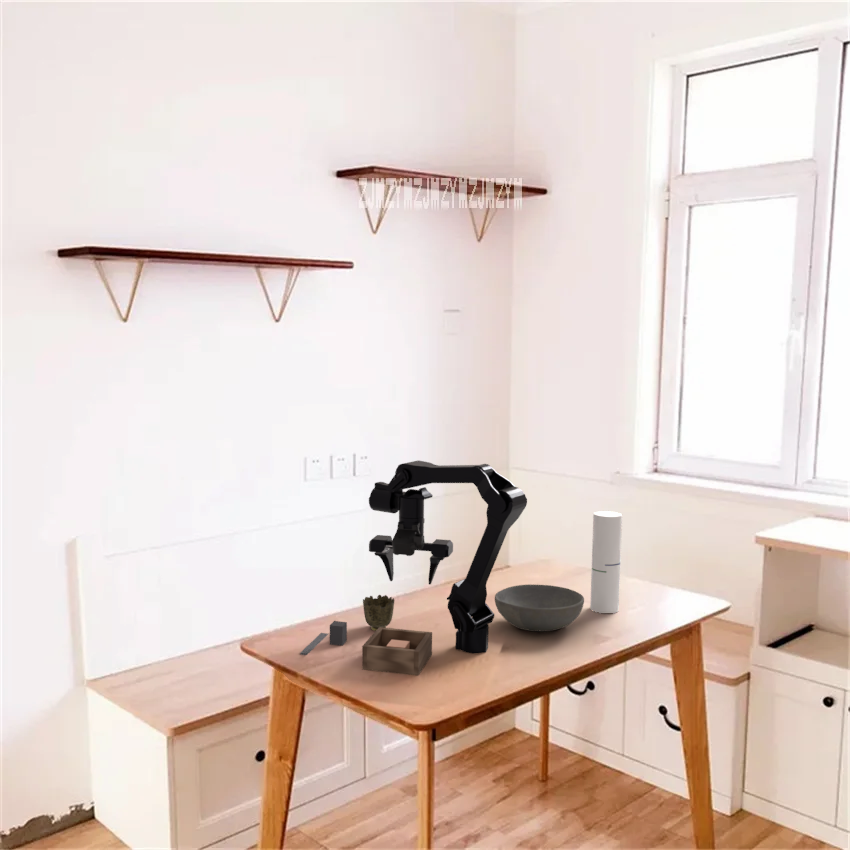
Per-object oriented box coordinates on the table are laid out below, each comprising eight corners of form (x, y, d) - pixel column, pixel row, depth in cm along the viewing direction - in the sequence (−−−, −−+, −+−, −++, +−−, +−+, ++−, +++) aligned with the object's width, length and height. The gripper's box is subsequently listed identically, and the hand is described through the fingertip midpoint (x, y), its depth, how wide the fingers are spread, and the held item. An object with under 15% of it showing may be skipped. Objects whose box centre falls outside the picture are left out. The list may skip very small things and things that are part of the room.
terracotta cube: (409, 659, 189) (409, 641, 189) (404, 666, 186) (404, 647, 185) (391, 657, 190) (391, 639, 190) (386, 664, 186) (386, 645, 186)
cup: (366, 638, 204) (366, 605, 203) (359, 628, 211) (359, 595, 210) (397, 636, 206) (397, 602, 205) (390, 625, 213) (390, 593, 212)
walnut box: (431, 658, 192) (432, 632, 192) (418, 680, 181) (418, 651, 180) (378, 653, 195) (379, 627, 195) (362, 674, 184) (362, 646, 183)
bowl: (519, 647, 200) (520, 613, 199) (479, 618, 219) (480, 587, 219) (599, 636, 208) (600, 603, 207) (554, 609, 227) (555, 579, 226)
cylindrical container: (621, 614, 224) (624, 517, 221) (592, 613, 224) (596, 516, 221) (615, 605, 231) (619, 511, 228) (588, 604, 231) (591, 510, 228)
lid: (374, 642, 204) (374, 617, 203) (356, 663, 191) (356, 636, 191) (321, 637, 207) (321, 612, 206) (300, 657, 194) (300, 630, 194)
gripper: (361, 520, 197) (361, 589, 199) (443, 526, 193) (442, 596, 194) (376, 510, 208) (375, 575, 210) (454, 515, 203) (452, 582, 205)
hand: (410, 582), depth 204 cm, fingers open, 9 cm apart
